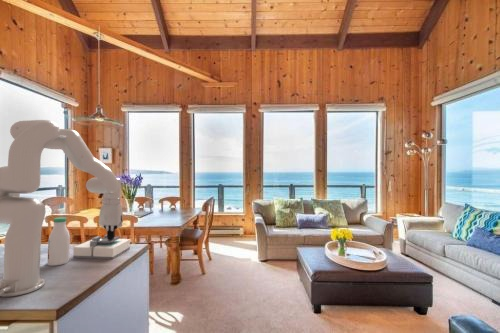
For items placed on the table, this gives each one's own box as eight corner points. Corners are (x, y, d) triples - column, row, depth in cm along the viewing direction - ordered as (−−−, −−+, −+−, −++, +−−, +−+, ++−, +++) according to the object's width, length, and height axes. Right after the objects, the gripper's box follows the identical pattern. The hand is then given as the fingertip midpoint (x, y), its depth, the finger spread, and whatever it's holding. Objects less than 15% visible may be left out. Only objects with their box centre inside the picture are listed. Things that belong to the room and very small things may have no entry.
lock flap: (93, 241, 123) (93, 245, 123) (110, 240, 123) (110, 243, 123) (104, 237, 132) (104, 240, 132) (120, 235, 132) (120, 238, 132)
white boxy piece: (112, 259, 119) (113, 242, 119) (73, 257, 120) (73, 241, 120) (129, 248, 135) (130, 234, 135) (94, 247, 136) (95, 233, 136)
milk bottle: (73, 260, 116) (75, 216, 116) (59, 266, 108) (60, 219, 109) (57, 259, 117) (59, 216, 117) (42, 265, 109) (44, 219, 110)
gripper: (92, 202, 124) (91, 240, 124) (122, 203, 124) (121, 241, 124) (101, 200, 132) (100, 236, 131) (130, 201, 131) (129, 237, 131)
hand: (110, 238), depth 127 cm, fingers closed
